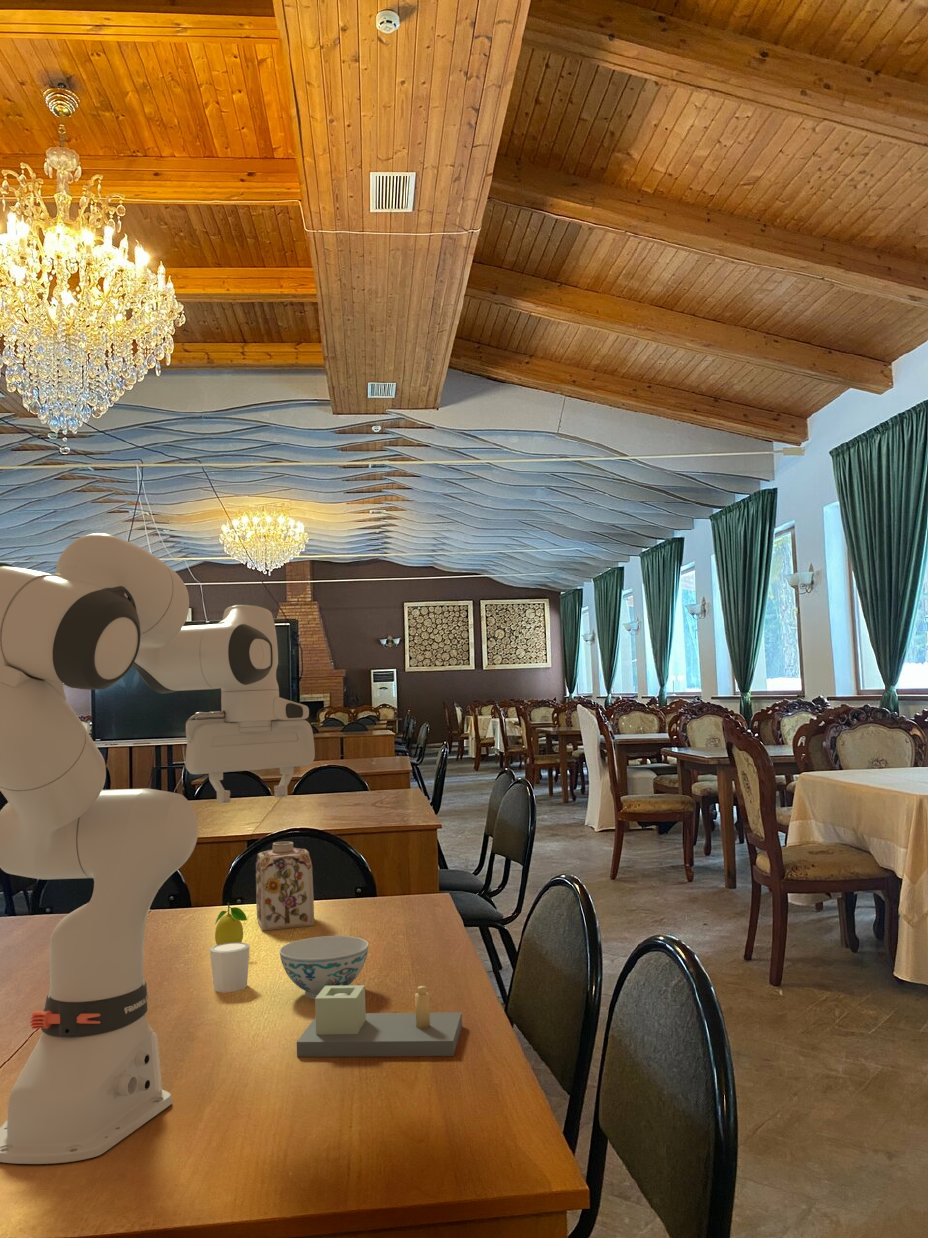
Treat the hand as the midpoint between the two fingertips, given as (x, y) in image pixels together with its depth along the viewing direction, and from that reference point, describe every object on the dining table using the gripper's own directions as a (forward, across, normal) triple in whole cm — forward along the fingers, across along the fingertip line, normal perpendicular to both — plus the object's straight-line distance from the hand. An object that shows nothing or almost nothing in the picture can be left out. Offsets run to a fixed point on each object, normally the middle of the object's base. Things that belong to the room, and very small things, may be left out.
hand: (252, 800), depth 148 cm
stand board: (+35, +12, -16) cm, 40 cm away
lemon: (+34, +15, +47) cm, 60 cm away
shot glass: (+35, +6, +25) cm, 43 cm away
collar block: (+33, +7, -12) cm, 36 cm away
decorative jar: (+34, +35, +63) cm, 80 cm away
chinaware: (+35, +17, +10) cm, 40 cm away
